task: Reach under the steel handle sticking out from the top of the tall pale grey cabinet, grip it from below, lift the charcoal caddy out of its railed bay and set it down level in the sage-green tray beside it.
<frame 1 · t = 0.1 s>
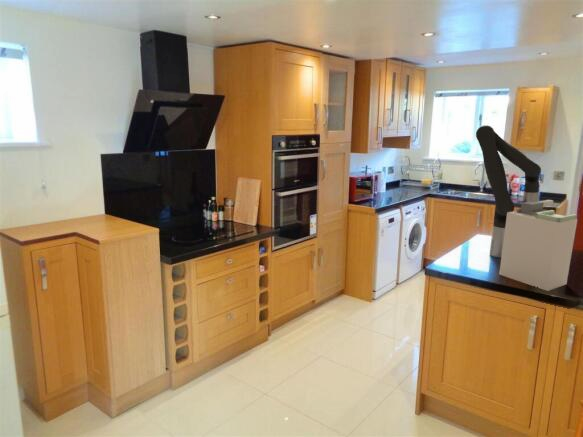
hand: (528, 229, 233), 17 cm above the countertop, tool pointing down, fingers open, 8 cm apart
cabinet: (531, 279, 206), on the countertop
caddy: (531, 212, 205), point 32 cm above the countertop, touching cabinet
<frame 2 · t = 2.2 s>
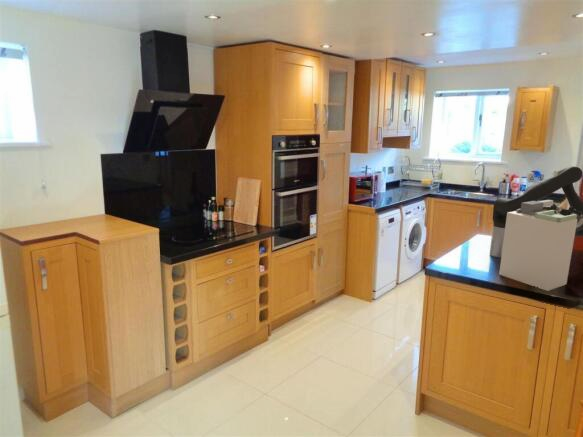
hand: (560, 206, 218), 32 cm above the countertop, tool pointing upward, fingers open, 8 cm apart
nothing on the countertop moved.
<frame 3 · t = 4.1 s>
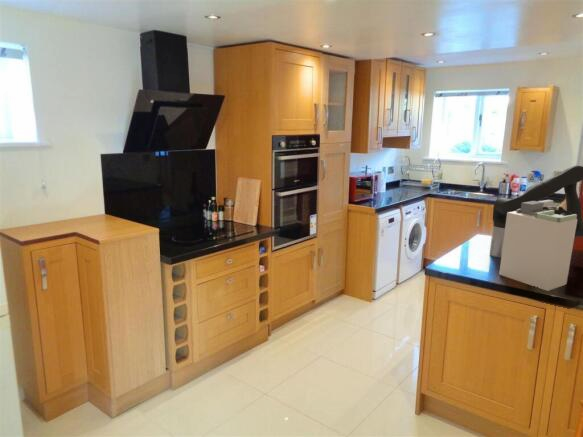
hand: (550, 206, 213), 33 cm above the countertop, tool pointing upward, fingers open, 8 cm apart
nothing on the countertop moved.
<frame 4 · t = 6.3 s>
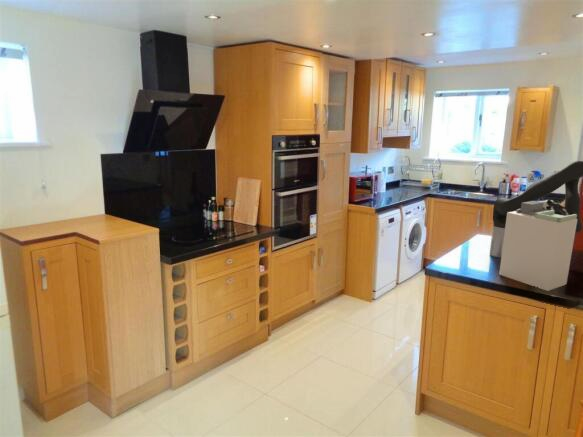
hand: (544, 200, 209), 37 cm above the countertop, tool pointing upward, fingers closed on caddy, 2 cm apart
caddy: (531, 212, 205), point 32 cm above the countertop, touching cabinet, gripper
everything else where it was.
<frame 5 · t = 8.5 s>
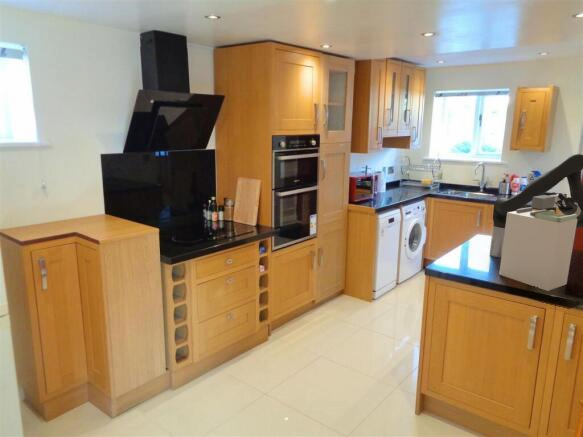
hand: (556, 194, 204), 41 cm above the countertop, tool pointing upward, fingers closed on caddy, 2 cm apart
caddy: (542, 207, 200), point 36 cm above the countertop, touching gripper
everything else where it was.
when the fingers open (38 cm above the countertop, at t = 11.1 s): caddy stays where it is, resting on cabinet.
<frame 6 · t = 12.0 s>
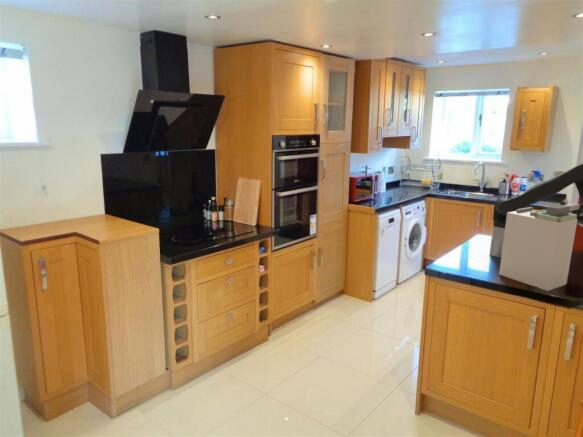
hand: (571, 204, 199), 37 cm above the countertop, tool pointing upward, fingers open, 8 cm apart
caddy: (556, 217, 195), point 32 cm above the countertop, touching cabinet
everything else where it was.
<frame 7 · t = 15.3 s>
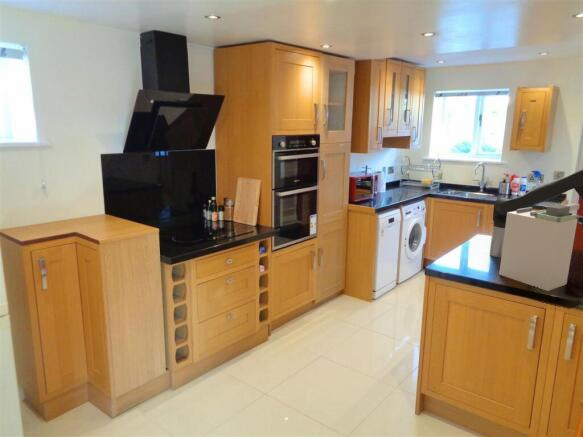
hand: (577, 217, 208), 29 cm above the countertop, tool pointing upward, fingers open, 8 cm apart
nothing on the countertop moved.
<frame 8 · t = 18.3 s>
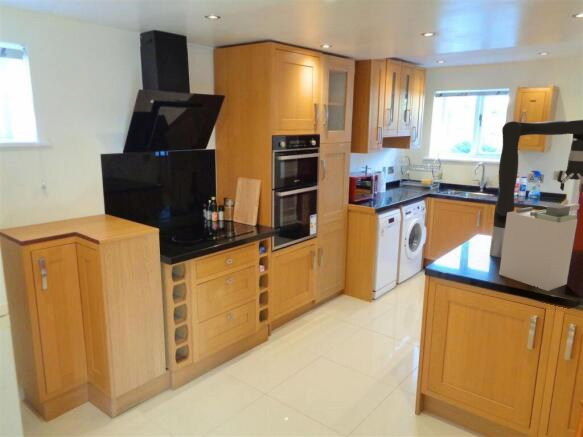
hand: (571, 191, 219), 40 cm above the countertop, tool pointing down, fingers open, 8 cm apart
nothing on the countertop moved.
at the end: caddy 0.2 cm from the target spot, point 32.3 cm above the countertop; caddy tilted 0°; the gripper is holding nothing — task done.
